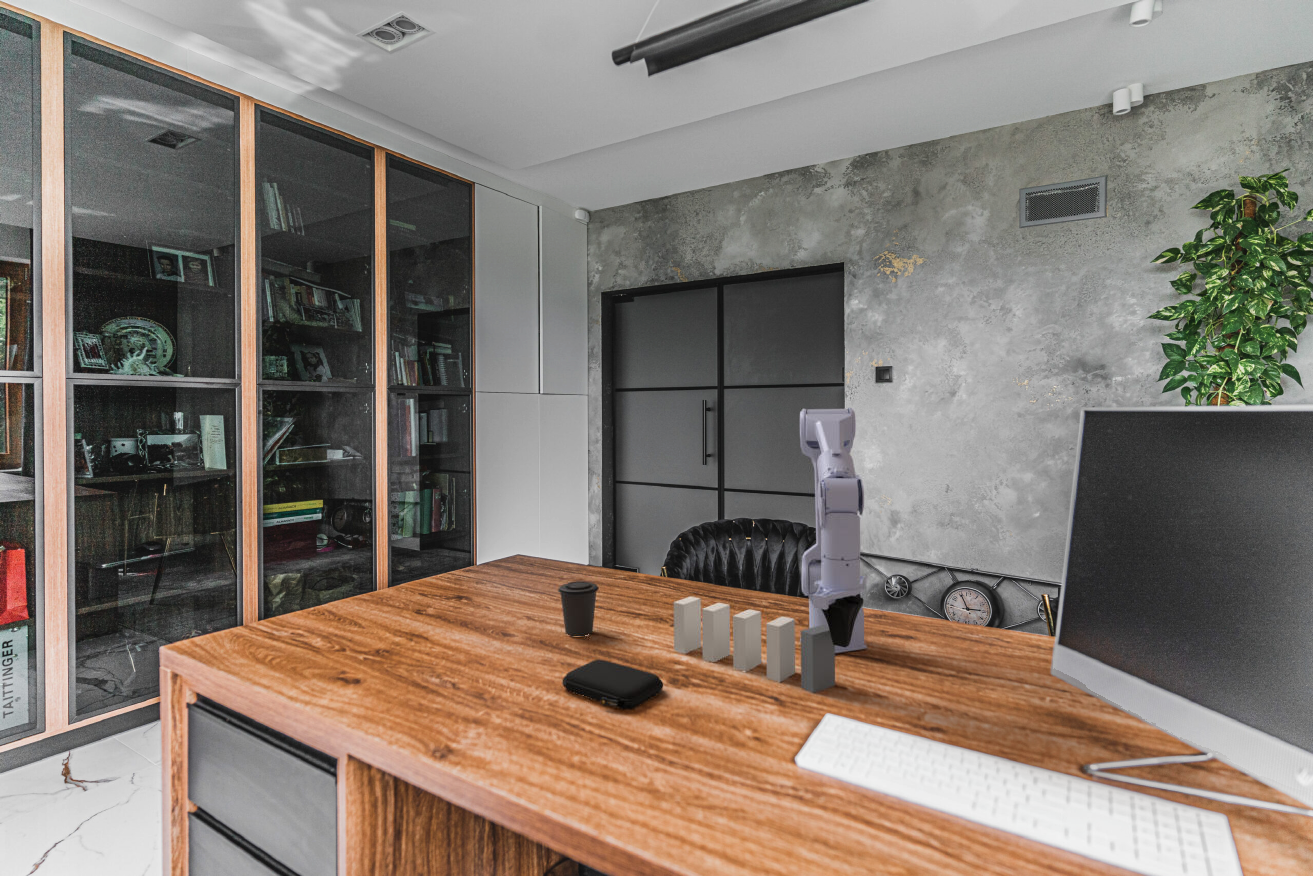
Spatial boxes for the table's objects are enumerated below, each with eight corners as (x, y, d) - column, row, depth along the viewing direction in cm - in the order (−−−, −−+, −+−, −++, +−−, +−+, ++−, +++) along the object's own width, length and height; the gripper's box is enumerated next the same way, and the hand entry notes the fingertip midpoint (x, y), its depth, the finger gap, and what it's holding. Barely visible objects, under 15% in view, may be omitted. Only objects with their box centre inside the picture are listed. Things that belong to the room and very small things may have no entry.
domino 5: (835, 685, 99) (834, 628, 99) (812, 693, 96) (812, 634, 96) (823, 680, 101) (823, 624, 101) (801, 687, 98) (800, 630, 98)
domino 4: (795, 673, 104) (794, 619, 104) (779, 682, 100) (779, 626, 100) (782, 669, 106) (782, 616, 105) (766, 678, 102) (766, 623, 102)
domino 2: (730, 654, 113) (729, 604, 112) (713, 663, 109) (713, 611, 109) (719, 651, 114) (718, 602, 114) (702, 659, 110) (702, 608, 110)
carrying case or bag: (551, 694, 98) (625, 720, 89) (551, 675, 97) (625, 698, 89) (597, 672, 106) (668, 693, 98) (596, 654, 106) (668, 674, 97)
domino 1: (701, 646, 117) (700, 598, 117) (684, 654, 113) (683, 604, 113) (691, 643, 118) (690, 596, 118) (674, 651, 115) (673, 602, 114)
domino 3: (761, 663, 108) (760, 611, 108) (745, 672, 104) (744, 618, 104) (749, 660, 110) (749, 609, 110) (733, 668, 106) (732, 616, 106)
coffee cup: (550, 637, 123) (550, 586, 123) (571, 624, 131) (570, 576, 130) (587, 642, 120) (586, 590, 120) (606, 629, 128) (605, 580, 127)
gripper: (836, 546, 104) (836, 627, 104) (793, 561, 93) (794, 652, 93) (878, 551, 99) (878, 636, 99) (839, 568, 88) (839, 664, 88)
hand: (841, 645), depth 96 cm, fingers closed
